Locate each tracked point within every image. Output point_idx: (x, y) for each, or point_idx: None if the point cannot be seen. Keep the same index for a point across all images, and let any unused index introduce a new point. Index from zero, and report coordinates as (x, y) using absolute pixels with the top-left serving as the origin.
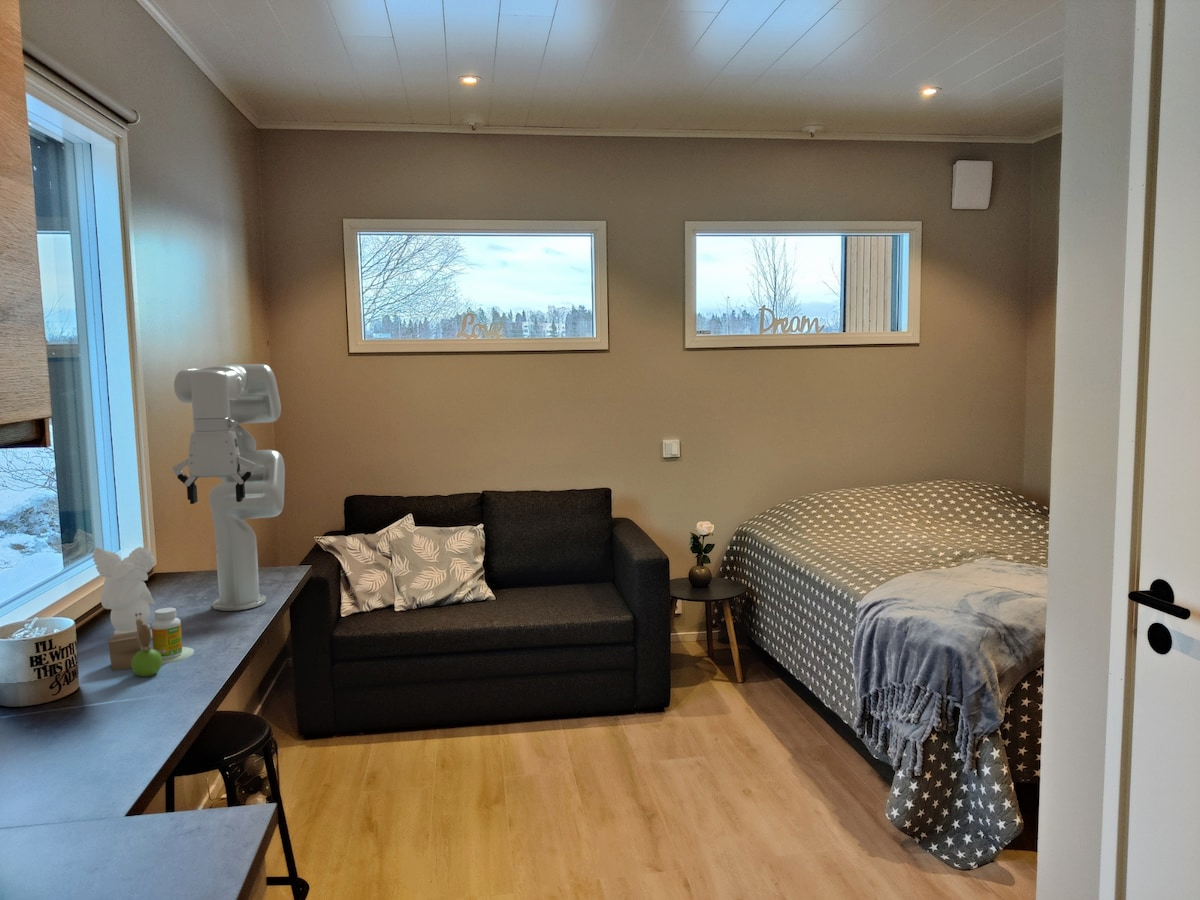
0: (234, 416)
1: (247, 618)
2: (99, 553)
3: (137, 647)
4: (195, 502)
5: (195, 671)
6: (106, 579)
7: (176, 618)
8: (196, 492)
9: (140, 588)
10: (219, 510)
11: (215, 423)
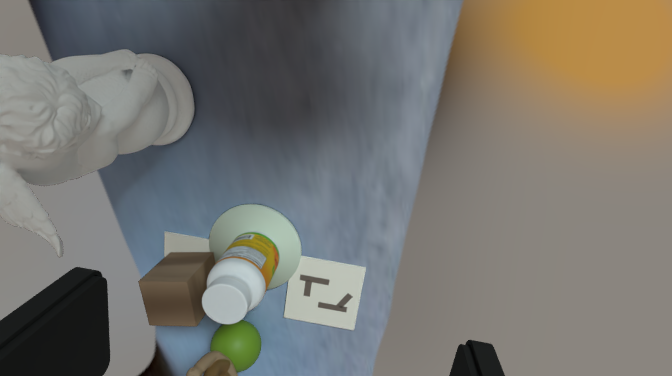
0: None
1: (398, 13)
2: None
3: (204, 313)
4: (108, 329)
5: (317, 340)
6: None
7: (253, 289)
8: (44, 344)
9: (106, 147)
10: None
11: None
